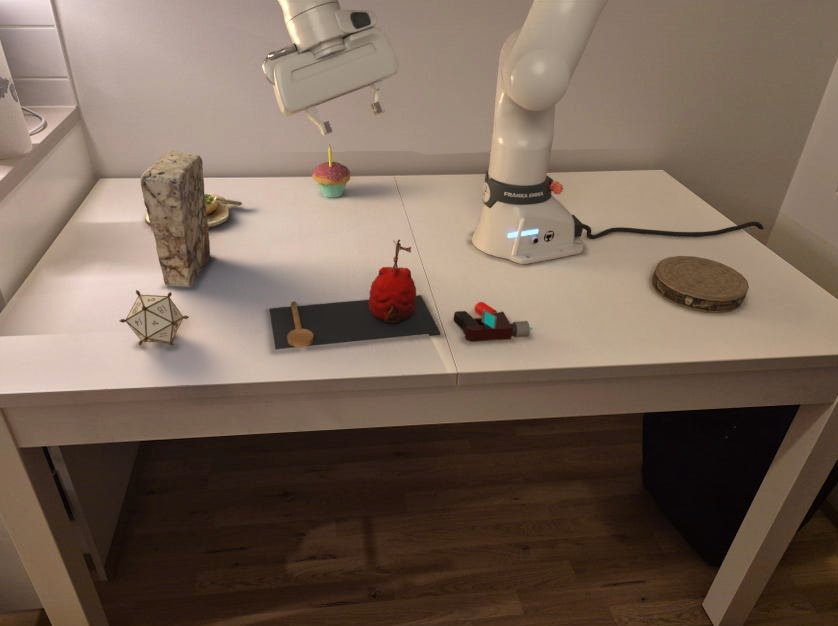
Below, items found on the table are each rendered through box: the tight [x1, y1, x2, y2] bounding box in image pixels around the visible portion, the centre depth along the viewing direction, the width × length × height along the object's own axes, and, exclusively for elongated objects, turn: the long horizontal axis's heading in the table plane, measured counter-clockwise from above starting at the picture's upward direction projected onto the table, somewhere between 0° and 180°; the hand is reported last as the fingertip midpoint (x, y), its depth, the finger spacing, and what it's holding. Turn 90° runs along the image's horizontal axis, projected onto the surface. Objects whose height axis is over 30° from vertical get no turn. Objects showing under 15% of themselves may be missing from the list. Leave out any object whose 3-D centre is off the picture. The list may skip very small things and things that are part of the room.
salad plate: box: [144, 193, 243, 229], centre depth 136 cm, size 19×18×5 cm
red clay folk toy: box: [368, 239, 417, 324], centre depth 103 cm, size 8×7×15 cm
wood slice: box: [651, 255, 750, 314], centre depth 119 cm, size 16×16×3 cm
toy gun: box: [453, 301, 534, 342], centre depth 105 cm, size 10×12×5 cm
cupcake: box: [312, 143, 351, 198], centre depth 146 cm, size 9×8×12 cm
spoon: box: [287, 300, 314, 348], centre depth 103 cm, size 12×4×1 cm, turn 14°
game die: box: [119, 289, 190, 346], centre depth 97 cm, size 9×8×10 cm
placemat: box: [268, 294, 441, 350], centre depth 106 cm, size 26×12×1 cm, turn 104°
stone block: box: [139, 150, 212, 288], centre depth 112 cm, size 13×7×20 cm, turn 2°
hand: (354, 123), depth 105 cm, fingers open, 8 cm apart
